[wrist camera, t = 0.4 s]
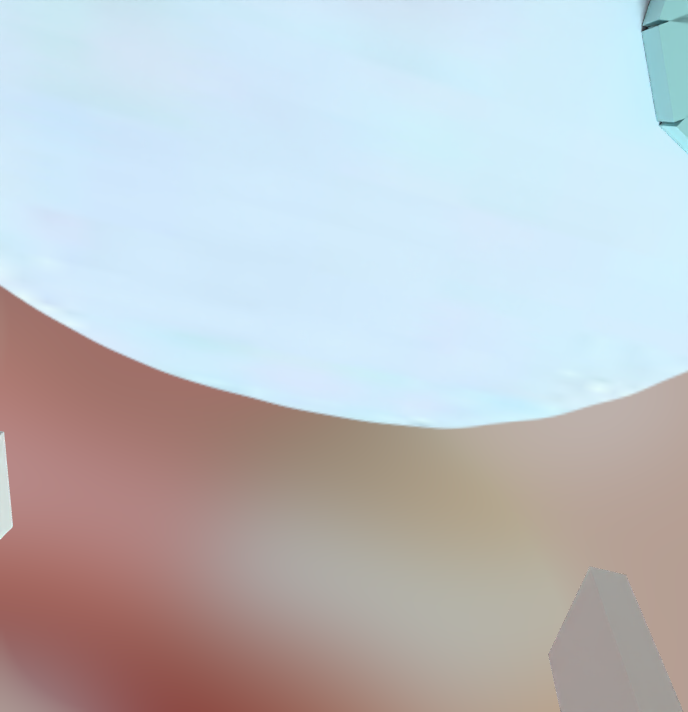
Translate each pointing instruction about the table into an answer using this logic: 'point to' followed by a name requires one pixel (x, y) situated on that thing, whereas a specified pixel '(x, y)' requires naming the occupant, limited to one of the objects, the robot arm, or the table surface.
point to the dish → (668, 65)
